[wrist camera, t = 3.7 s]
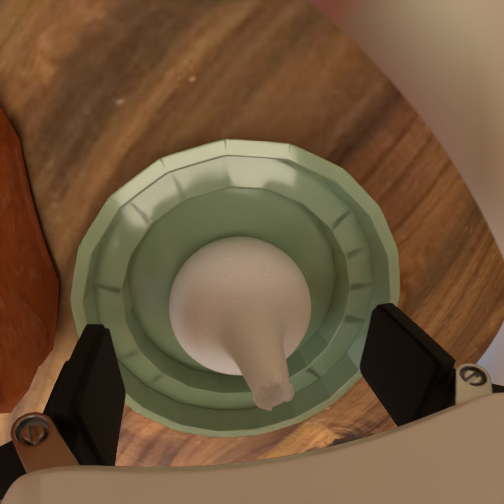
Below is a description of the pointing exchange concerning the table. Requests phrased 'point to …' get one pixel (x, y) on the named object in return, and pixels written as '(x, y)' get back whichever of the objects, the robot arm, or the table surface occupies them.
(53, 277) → the bread
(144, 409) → the bowl
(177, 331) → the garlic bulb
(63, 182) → the table surface
